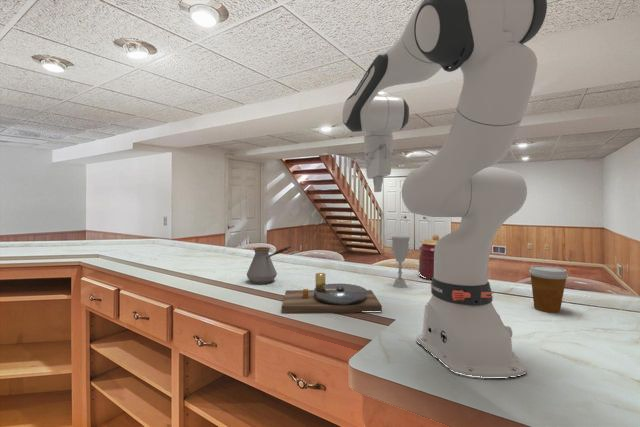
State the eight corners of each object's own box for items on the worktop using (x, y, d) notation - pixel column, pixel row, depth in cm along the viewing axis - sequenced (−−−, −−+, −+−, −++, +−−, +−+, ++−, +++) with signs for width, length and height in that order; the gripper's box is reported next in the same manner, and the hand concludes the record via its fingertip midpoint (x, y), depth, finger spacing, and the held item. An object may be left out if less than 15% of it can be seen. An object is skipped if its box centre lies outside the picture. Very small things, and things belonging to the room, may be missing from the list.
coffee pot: (240, 281, 129) (240, 242, 128) (263, 276, 138) (263, 240, 137) (279, 291, 115) (279, 248, 115) (301, 285, 124) (302, 244, 124)
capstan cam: (361, 289, 110) (361, 268, 110) (371, 304, 94) (371, 280, 94) (313, 289, 110) (313, 268, 109) (314, 305, 94) (314, 280, 93)
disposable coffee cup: (520, 306, 101) (521, 266, 100) (542, 302, 104) (543, 264, 103) (551, 316, 92) (553, 273, 91) (575, 312, 95) (576, 270, 95)
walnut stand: (381, 312, 94) (381, 297, 94) (281, 313, 94) (281, 297, 93) (371, 295, 110) (371, 282, 110) (286, 296, 110) (286, 283, 109)
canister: (412, 277, 137) (413, 234, 136) (427, 272, 146) (428, 232, 146) (443, 282, 128) (444, 236, 127) (457, 277, 137) (458, 234, 137)
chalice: (409, 288, 120) (410, 238, 119) (390, 287, 121) (391, 237, 120) (408, 283, 127) (409, 236, 126) (390, 282, 128) (391, 235, 127)
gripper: (397, 142, 94) (396, 191, 95) (381, 152, 114) (381, 192, 115) (374, 141, 94) (374, 191, 94) (363, 151, 114) (362, 192, 115)
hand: (377, 192), depth 105 cm, fingers closed
